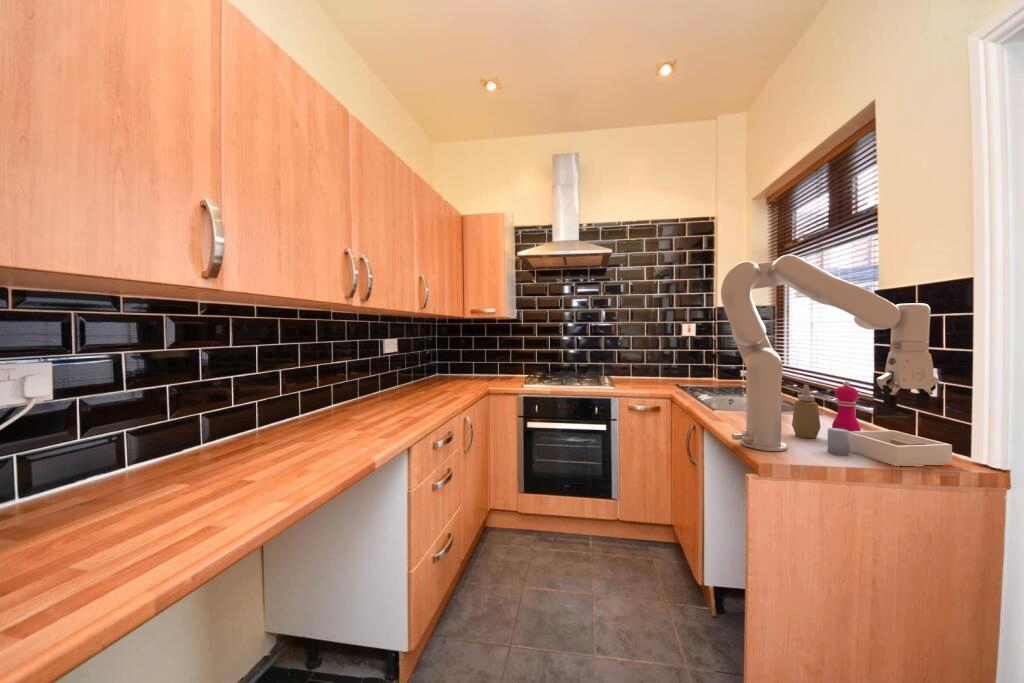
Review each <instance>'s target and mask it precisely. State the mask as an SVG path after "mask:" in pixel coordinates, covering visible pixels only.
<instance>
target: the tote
mask: <svg viewBox="0 0 1024 683" xmlns="http://www.w3.org/2000/svg"><path fill="white" fill-rule="evenodd" d="M891 439H911V440H915V441H919V442H922V443H926V444H927V445H903V446H897V445H893V444H891ZM849 452H851V453H854V454H858V455H860V456H863V457H867V458H870V459H872V460H875V461H878V462H881V463H884V464H887V463H888V464H887V465H890V464H891V466H893V465H894V466H893V467H896V466H898V467H897V468H900V467H899V466H914V465H935V464H948V463H952V464H953V460H952V459H953V445H952V444H950V443H946V442H942V441H938V440H935V439H930V438H926V437H921V436H918V435H914V434H909V433H905V432H902V431H897V430H894V429H891V430H887V429H886V430H885V429H884V430H861V431H852V432H849Z"/></svg>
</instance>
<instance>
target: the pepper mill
mask: <svg viewBox="0 0 1024 683" xmlns="http://www.w3.org/2000/svg"><path fill="white" fill-rule="evenodd" d="M850 385H851V383H850V382H849V381H847V380H846V381H844V382H843V383H842V386H838V387H837V388H835V390H834V397H836V399H837V400H836V405H837V414H836V416H835V417H834V419H833V422H832V424H831V428H839V429H845V430H848V431H849V432H852V431H862V429H861V426H860V423H859V421H858V419H857V417H856V413H855V412H856V411H855V407H856V406H857V401H856V400H857V399H858V398H859V392H858V390H857V389H856V388H855V387H853V386H850Z"/></svg>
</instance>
